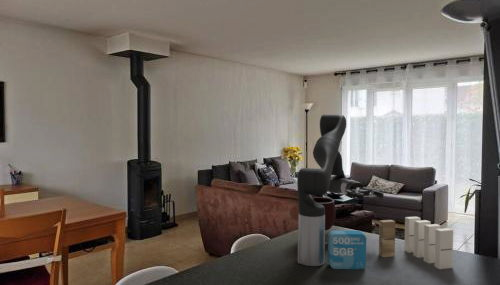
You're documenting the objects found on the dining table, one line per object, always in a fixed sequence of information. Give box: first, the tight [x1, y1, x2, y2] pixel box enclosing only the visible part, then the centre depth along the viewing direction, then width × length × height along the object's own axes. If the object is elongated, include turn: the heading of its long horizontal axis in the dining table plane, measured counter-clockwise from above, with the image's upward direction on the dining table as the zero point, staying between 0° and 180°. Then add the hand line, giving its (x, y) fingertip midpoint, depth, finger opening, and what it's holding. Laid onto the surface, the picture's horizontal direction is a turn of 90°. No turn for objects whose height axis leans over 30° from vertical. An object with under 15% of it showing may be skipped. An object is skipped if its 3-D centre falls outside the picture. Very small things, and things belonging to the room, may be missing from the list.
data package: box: [327, 229, 367, 270], centre depth 128 cm, size 12×4×12 cm, turn 88°
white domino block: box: [423, 223, 442, 264], centre depth 132 cm, size 2×5×13 cm, turn 103°
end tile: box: [434, 227, 454, 270], centre depth 127 cm, size 2×5×13 cm, turn 103°
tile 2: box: [403, 216, 422, 254], centre depth 143 cm, size 2×5×13 cm, turn 103°
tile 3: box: [413, 219, 431, 259], centre depth 138 cm, size 2×5×13 cm, turn 103°
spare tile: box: [378, 219, 396, 258], centre depth 138 cm, size 2×5×13 cm, turn 103°
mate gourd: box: [309, 195, 337, 246], centre depth 157 cm, size 16×14×20 cm
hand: (372, 196), depth 148 cm, fingers open, 8 cm apart
